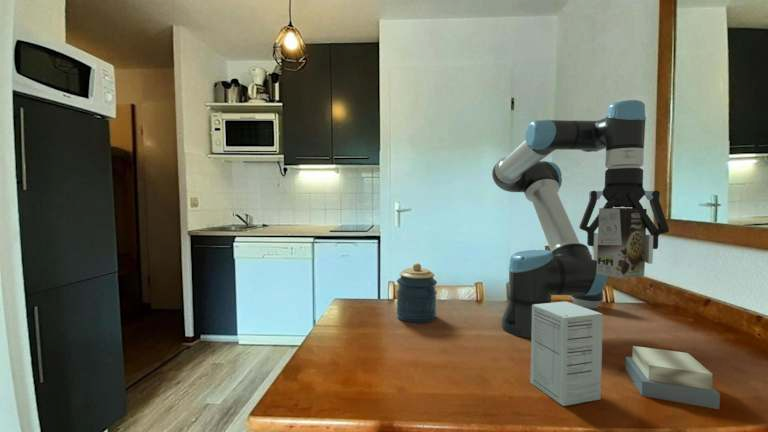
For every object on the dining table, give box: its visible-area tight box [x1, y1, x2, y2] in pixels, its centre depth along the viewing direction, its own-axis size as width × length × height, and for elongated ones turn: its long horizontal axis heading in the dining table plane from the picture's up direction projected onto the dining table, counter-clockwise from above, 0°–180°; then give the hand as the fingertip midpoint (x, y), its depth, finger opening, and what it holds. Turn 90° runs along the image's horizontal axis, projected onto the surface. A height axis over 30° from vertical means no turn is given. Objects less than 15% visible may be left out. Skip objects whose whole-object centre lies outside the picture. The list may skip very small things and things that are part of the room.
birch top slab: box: [631, 345, 714, 390], centre depth 73 cm, size 10×10×3 cm
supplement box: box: [529, 301, 604, 407], centre depth 71 cm, size 10×9×17 cm
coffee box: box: [597, 207, 648, 280], centre depth 84 cm, size 9×6×16 cm
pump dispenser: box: [570, 289, 604, 310], centre depth 128 cm, size 10×10×15 cm
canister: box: [396, 262, 438, 324], centre depth 115 cm, size 13×13×18 cm
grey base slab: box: [624, 356, 721, 410], centre depth 73 cm, size 12×12×4 cm
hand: (620, 261), depth 85 cm, fingers closed on coffee box, 10 cm apart
